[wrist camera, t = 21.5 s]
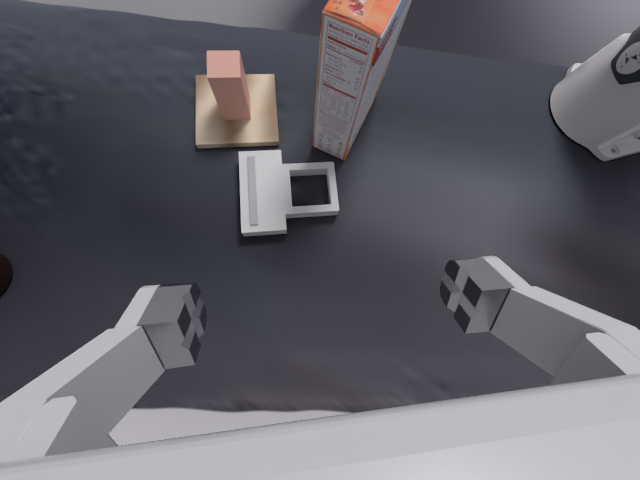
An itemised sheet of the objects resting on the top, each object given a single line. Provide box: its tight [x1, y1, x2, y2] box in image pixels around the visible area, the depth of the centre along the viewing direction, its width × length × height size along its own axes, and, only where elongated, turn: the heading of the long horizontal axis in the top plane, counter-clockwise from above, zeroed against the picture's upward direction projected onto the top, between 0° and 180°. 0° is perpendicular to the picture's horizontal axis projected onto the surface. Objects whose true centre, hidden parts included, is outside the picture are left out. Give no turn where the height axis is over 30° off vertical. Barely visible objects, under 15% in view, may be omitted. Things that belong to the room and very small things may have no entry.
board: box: [196, 74, 279, 148], centre depth 43 cm, size 12×12×1 cm
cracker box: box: [313, 0, 412, 161], centre depth 34 cm, size 14×6×21 cm, turn 155°
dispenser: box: [239, 150, 339, 236], centre depth 40 cm, size 14×12×2 cm
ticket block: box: [207, 51, 251, 120], centre depth 38 cm, size 4×4×8 cm
